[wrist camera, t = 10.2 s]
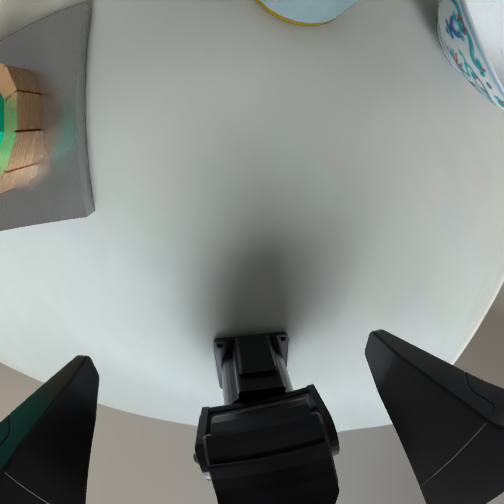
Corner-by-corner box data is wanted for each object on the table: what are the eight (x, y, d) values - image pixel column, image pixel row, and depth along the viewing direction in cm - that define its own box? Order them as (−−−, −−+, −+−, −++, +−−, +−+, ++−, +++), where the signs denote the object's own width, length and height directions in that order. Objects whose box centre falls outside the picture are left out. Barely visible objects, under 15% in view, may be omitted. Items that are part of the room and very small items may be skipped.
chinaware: (452, 138, 19) (517, 151, 12) (371, -9, 13) (426, -42, 6) (510, 91, 17) (558, 96, 10) (452, -22, 12) (498, -37, 4)
